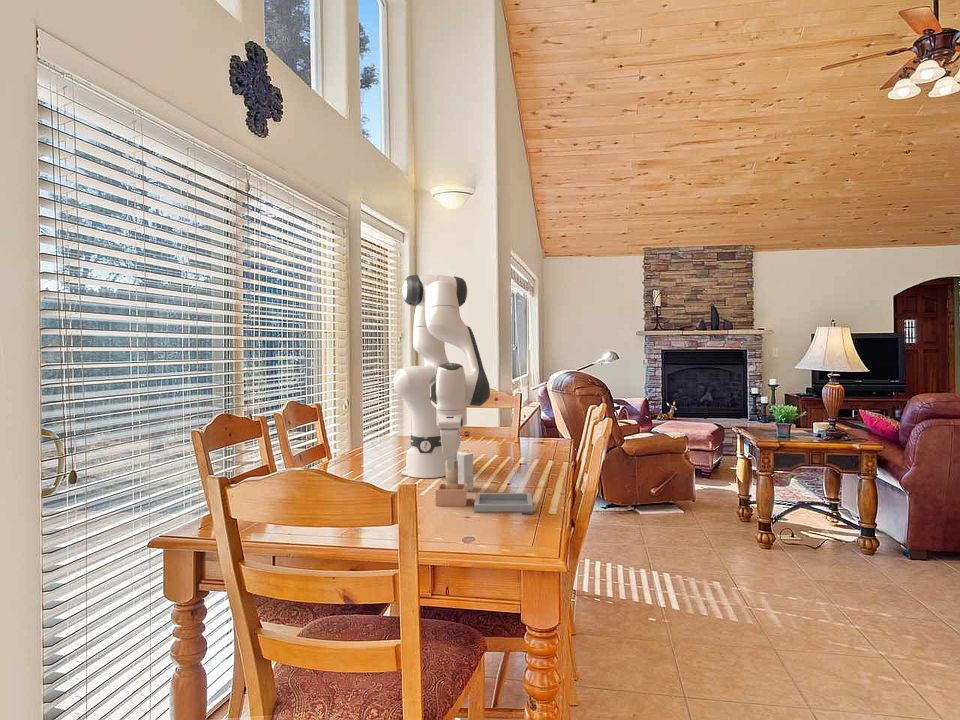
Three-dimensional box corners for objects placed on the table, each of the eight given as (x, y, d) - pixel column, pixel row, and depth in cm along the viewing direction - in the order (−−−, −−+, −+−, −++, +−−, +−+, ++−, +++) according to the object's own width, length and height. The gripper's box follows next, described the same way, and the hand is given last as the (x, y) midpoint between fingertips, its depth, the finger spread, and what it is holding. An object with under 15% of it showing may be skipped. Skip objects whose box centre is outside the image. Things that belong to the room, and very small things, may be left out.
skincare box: (473, 491, 199) (473, 453, 199) (464, 493, 196) (464, 455, 196) (460, 488, 203) (460, 451, 203) (450, 490, 200) (450, 453, 200)
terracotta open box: (438, 500, 188) (438, 483, 188) (467, 500, 188) (467, 483, 188) (435, 507, 179) (435, 490, 179) (465, 507, 179) (465, 490, 179)
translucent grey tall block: (446, 500, 185) (446, 460, 185) (458, 500, 185) (458, 460, 185) (445, 503, 182) (444, 462, 182) (457, 503, 182) (457, 462, 181)
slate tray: (476, 501, 186) (476, 492, 186) (530, 501, 186) (530, 493, 186) (474, 514, 172) (474, 505, 172) (532, 514, 172) (532, 505, 172)
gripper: (444, 415, 193) (444, 460, 194) (437, 423, 173) (438, 473, 173) (464, 415, 193) (465, 460, 193) (460, 423, 173) (461, 473, 173)
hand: (452, 466), depth 183 cm, fingers open, 8 cm apart
